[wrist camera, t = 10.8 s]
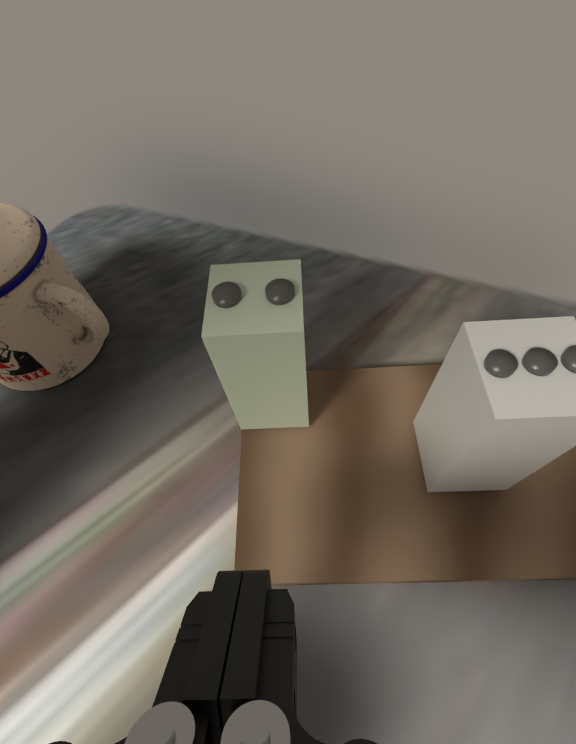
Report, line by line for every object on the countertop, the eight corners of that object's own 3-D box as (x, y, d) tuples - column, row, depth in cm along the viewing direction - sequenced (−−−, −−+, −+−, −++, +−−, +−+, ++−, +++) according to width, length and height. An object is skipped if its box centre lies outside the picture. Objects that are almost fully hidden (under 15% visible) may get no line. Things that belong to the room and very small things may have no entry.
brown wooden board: (239, 585, 20) (233, 584, 18) (248, 385, 26) (245, 373, 25) (728, 575, 19) (758, 573, 17) (612, 368, 25) (628, 355, 24)
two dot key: (240, 429, 22) (199, 331, 15) (244, 371, 25) (208, 259, 17) (309, 426, 22) (303, 326, 14) (306, 368, 24) (300, 253, 16)
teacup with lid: (-36, 379, 28) (-227, 254, 18) (42, 290, 32) (-79, 152, 23) (100, 422, 25) (-38, 303, 16) (165, 319, 30) (89, 176, 20)
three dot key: (427, 492, 20) (499, 415, 12) (413, 421, 22) (466, 317, 14) (506, 489, 20) (632, 409, 12) (484, 418, 22) (578, 311, 14)
